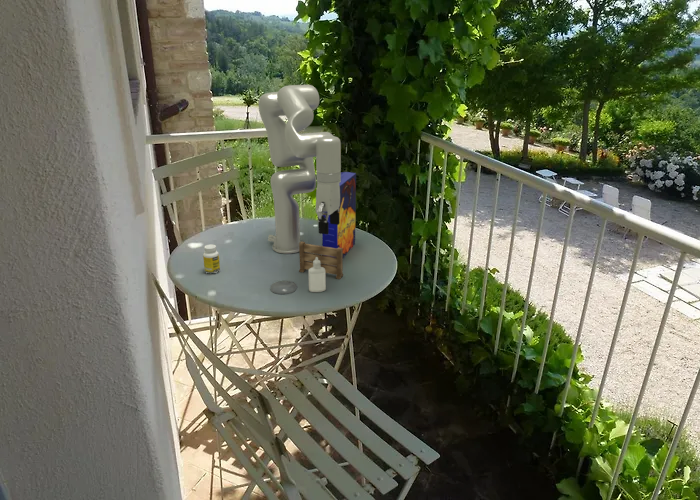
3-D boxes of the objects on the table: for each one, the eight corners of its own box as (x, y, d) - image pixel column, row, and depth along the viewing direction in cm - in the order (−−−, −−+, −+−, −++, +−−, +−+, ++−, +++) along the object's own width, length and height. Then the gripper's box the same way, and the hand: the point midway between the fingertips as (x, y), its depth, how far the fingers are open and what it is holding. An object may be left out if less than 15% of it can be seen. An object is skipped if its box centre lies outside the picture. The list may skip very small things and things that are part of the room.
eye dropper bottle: (322, 294, 165) (322, 261, 161) (306, 291, 167) (306, 258, 162) (327, 288, 169) (327, 256, 164) (312, 286, 171) (311, 253, 166)
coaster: (265, 291, 167) (265, 289, 166) (278, 280, 174) (278, 278, 174) (289, 296, 164) (289, 294, 163) (301, 284, 171) (301, 283, 171)
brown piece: (299, 271, 181) (298, 243, 177) (302, 268, 184) (302, 240, 179) (340, 279, 176) (340, 250, 171) (343, 275, 178) (343, 247, 174)
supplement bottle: (215, 275, 177) (212, 250, 174) (201, 273, 179) (198, 248, 175) (223, 269, 182) (220, 244, 178) (210, 267, 184) (207, 242, 180)
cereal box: (337, 265, 187) (337, 187, 175) (322, 262, 188) (321, 185, 177) (355, 244, 206) (356, 172, 194) (341, 242, 208) (341, 171, 196)
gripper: (327, 170, 164) (328, 219, 171) (306, 182, 149) (307, 236, 156) (349, 171, 162) (349, 221, 169) (329, 184, 147) (330, 239, 153)
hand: (329, 228), depth 162 cm, fingers open, 9 cm apart
